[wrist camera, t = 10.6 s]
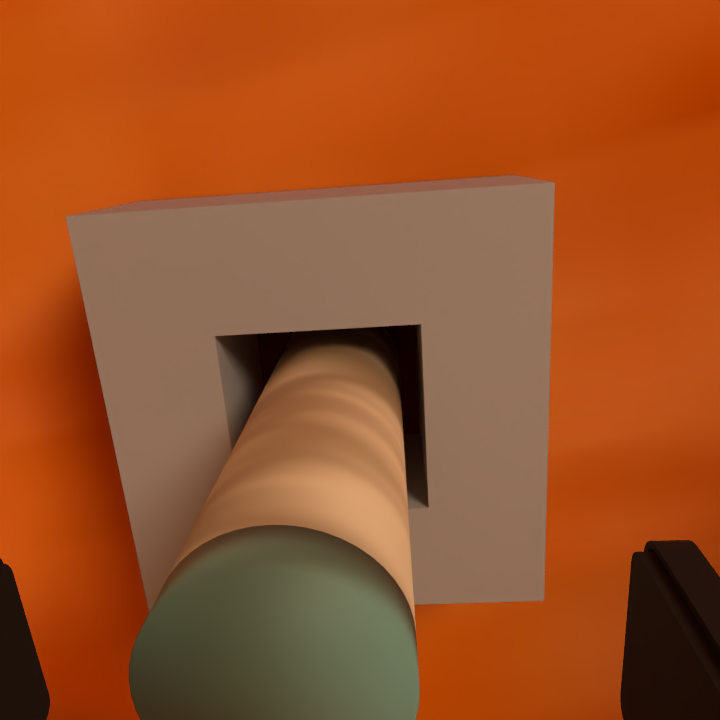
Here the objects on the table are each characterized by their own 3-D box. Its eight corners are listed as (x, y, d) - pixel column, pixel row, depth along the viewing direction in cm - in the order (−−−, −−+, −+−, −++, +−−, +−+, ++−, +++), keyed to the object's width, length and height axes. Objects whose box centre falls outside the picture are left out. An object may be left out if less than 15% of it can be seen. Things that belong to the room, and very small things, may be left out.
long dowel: (395, 305, 21) (413, 563, 8) (401, 414, 22) (425, 796, 9) (278, 312, 21) (102, 574, 8) (290, 420, 23) (155, 800, 9)
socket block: (513, 175, 20) (554, 182, 15) (511, 509, 23) (543, 600, 19) (139, 201, 20) (65, 216, 16) (195, 522, 24) (149, 613, 19)
